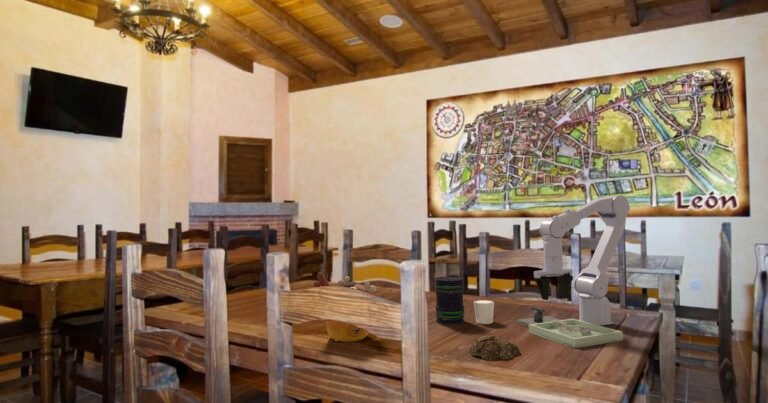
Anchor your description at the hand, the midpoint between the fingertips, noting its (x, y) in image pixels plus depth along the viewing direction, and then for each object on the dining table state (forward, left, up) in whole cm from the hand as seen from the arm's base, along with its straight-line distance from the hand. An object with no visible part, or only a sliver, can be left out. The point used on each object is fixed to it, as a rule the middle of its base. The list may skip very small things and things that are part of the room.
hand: (554, 298), depth 153 cm
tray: (+3, +11, -9) cm, 14 cm away
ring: (+3, +9, -9) cm, 13 cm away
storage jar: (+26, -23, -10) cm, 36 cm away
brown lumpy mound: (+34, +14, -10) cm, 38 cm away
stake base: (+1, -5, -9) cm, 10 cm away
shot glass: (+16, -17, -10) cm, 25 cm away
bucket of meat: (+65, -19, -10) cm, 68 cm away
